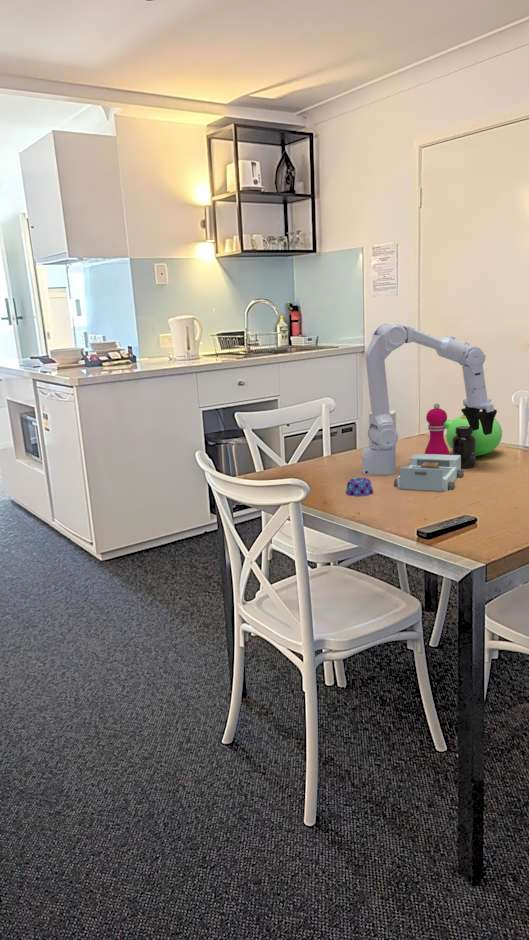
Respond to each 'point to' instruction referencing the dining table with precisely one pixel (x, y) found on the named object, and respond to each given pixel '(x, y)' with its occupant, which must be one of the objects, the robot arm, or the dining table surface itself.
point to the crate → (430, 465)
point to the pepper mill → (436, 431)
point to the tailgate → (421, 479)
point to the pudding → (359, 487)
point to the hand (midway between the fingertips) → (481, 432)
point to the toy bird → (476, 434)
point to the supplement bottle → (464, 446)
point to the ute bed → (446, 462)
